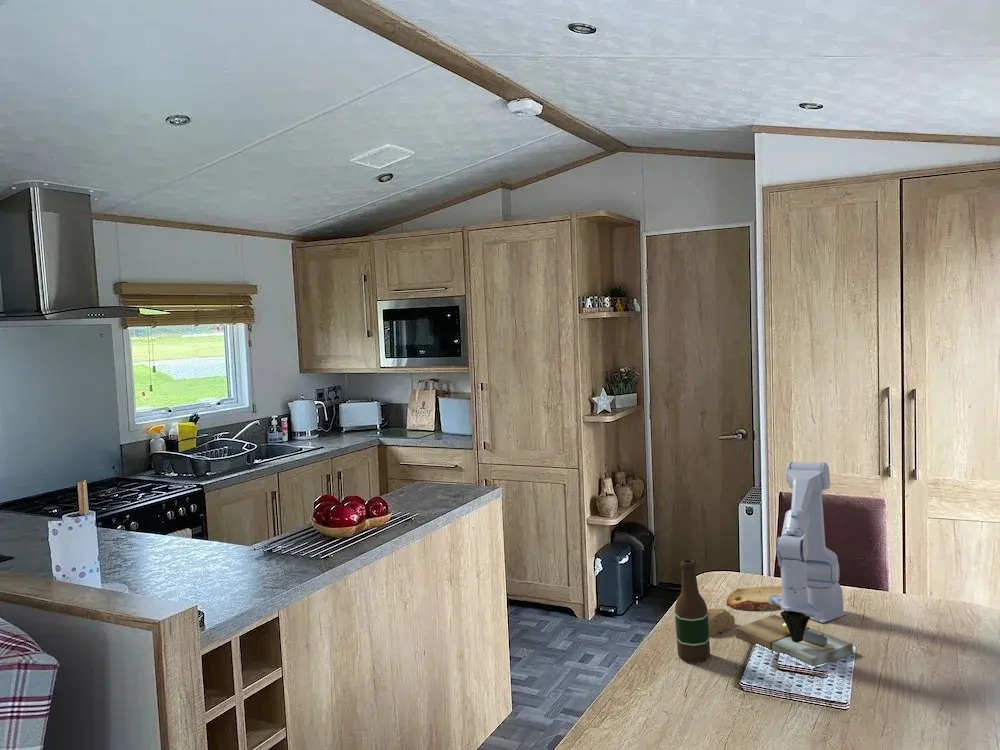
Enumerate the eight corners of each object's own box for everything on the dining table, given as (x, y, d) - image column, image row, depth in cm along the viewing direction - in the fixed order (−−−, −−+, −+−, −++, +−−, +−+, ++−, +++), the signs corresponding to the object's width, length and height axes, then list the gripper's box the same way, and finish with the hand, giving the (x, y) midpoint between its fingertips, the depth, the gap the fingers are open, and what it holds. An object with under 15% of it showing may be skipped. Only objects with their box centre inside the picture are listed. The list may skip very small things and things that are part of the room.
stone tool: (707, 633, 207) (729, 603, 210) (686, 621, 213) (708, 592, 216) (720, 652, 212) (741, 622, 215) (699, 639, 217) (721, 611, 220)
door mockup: (774, 623, 214) (773, 606, 214) (852, 653, 193) (851, 633, 193) (735, 637, 207) (734, 619, 207) (812, 669, 186) (811, 649, 186)
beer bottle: (711, 664, 193) (705, 566, 192) (678, 663, 195) (671, 566, 193) (709, 650, 201) (703, 556, 199) (677, 650, 203) (671, 556, 201)
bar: (780, 633, 201) (779, 623, 201) (787, 630, 203) (787, 620, 203) (820, 648, 191) (820, 637, 191) (828, 645, 193) (828, 634, 192)
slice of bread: (803, 595, 233) (802, 582, 233) (788, 617, 218) (787, 604, 218) (741, 588, 243) (740, 576, 243) (722, 609, 228) (721, 596, 228)
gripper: (758, 581, 196) (762, 635, 197) (807, 597, 183) (810, 655, 184) (779, 575, 199) (782, 628, 200) (828, 590, 186) (831, 647, 188)
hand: (797, 641), depth 192 cm, fingers closed
